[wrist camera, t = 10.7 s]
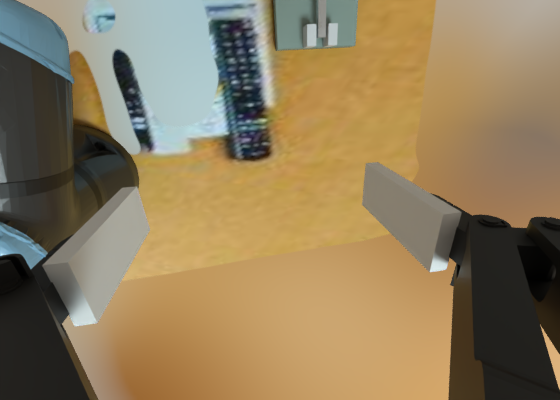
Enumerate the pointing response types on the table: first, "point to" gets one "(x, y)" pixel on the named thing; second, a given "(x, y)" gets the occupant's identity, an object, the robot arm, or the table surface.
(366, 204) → the robot arm
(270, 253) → the table surface
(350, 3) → the grey-green piece
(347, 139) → the table surface
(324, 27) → the grey t-handle tool
